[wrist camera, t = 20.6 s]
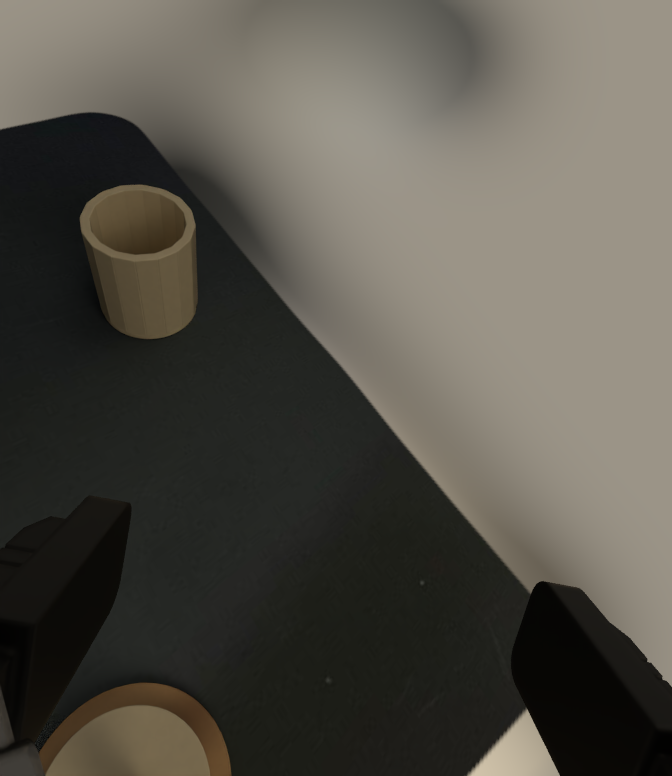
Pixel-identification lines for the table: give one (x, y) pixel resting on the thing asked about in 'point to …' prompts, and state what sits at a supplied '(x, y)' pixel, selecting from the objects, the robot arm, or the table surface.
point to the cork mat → (151, 696)
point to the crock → (142, 259)
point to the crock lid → (132, 746)
